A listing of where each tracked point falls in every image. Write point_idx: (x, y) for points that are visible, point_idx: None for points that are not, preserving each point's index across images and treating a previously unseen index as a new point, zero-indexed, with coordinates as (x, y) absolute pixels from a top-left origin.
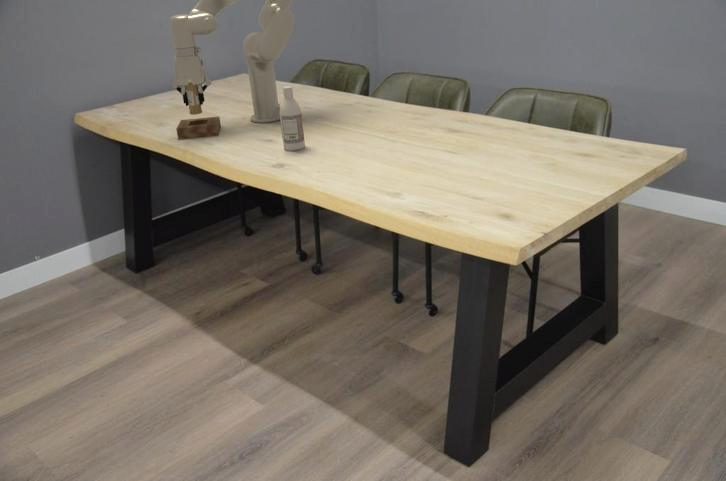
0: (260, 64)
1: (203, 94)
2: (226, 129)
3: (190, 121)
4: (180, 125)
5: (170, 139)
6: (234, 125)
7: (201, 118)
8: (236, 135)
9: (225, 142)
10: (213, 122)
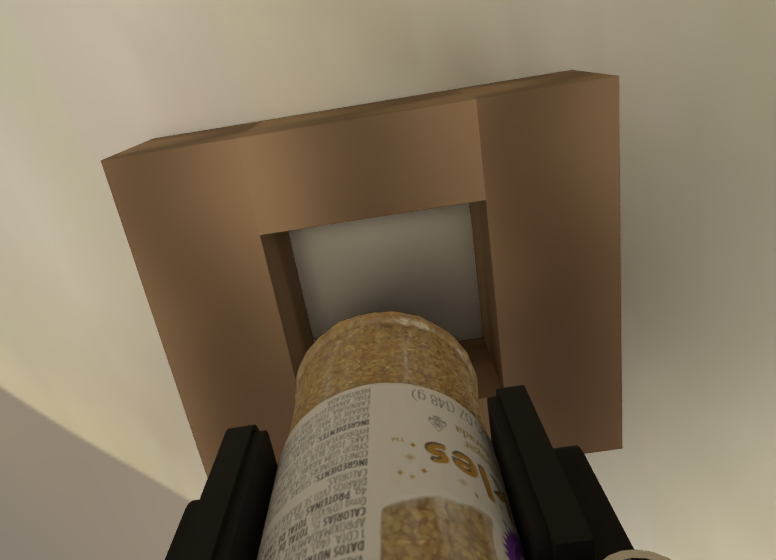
0: None
1: (624, 537)
2: (643, 180)
3: (262, 233)
4: (213, 405)
5: (161, 414)
6: (725, 23)
7: (378, 137)
8: (747, 394)
9: (663, 547)
10: (577, 354)
